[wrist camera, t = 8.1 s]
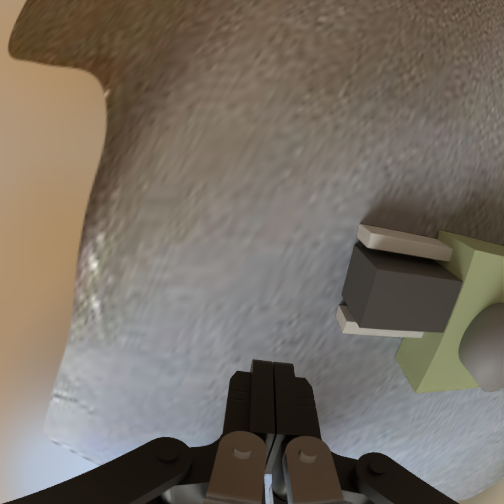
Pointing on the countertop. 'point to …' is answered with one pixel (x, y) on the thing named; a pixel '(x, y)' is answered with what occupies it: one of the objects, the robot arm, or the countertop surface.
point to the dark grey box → (399, 291)
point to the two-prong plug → (462, 317)
